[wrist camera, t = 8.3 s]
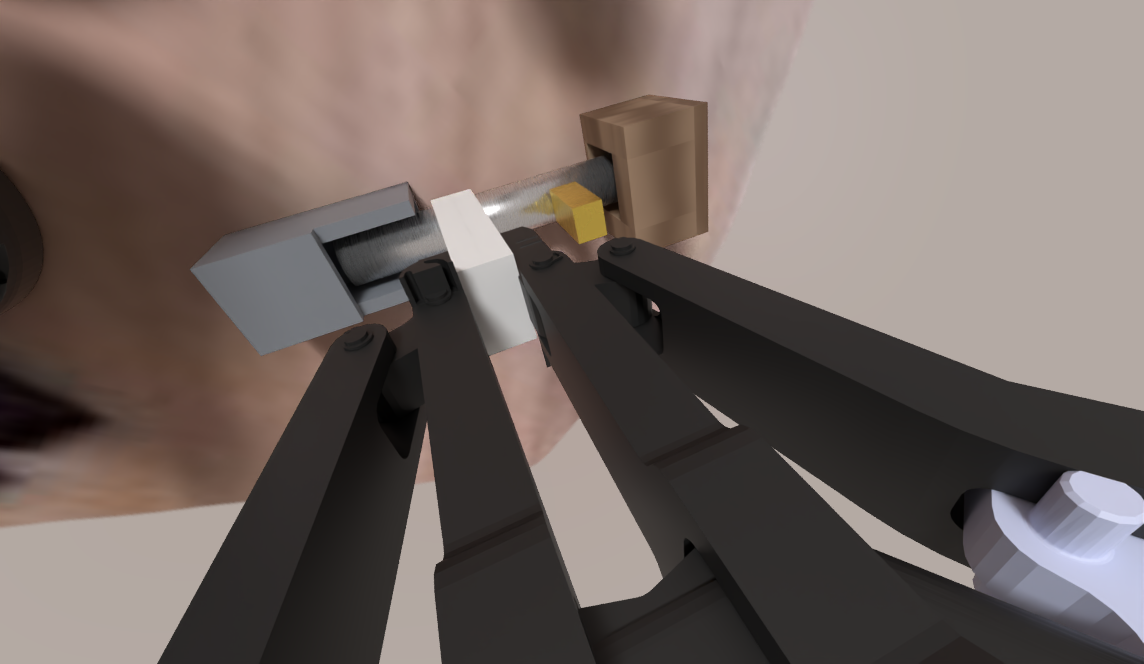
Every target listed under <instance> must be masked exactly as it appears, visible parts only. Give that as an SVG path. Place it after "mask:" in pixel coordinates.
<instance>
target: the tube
mask: <svg viewBox="0 0 1144 664" xmlns="http://www.w3.org/2000/svg"><path fill="white" fill-rule="evenodd" d="M474 195H475V197H476V198H477V200H478V202H479V203H480V205H481V206H482V208H483V209H484V211H485V212H486V214H487V215H488V217H489V218H490V220H491V221H492V223H493V224H494V226H495V227H496V229H497V230H498V232H499V233H503V232H506V231H509V230H512V229H515V228H519V227H522V226H524V227H527V228H530V229H535V228H538V227H541V226H544V225H547V224H550V223H553V222H556V221H557V222H558V223H559V224H560V225H561V226H562V227H563V228H564V229H565V230H566V231H567V232H568V233H569V234H570V235H571V236H572V237H573V238H574V240H575V241H576V242H577V243H578V244H581V243H584V242H587V241H590V240H593V239H596V238H599V237H602V236H605V235H607V230H606V224H605V217H604V211H603V206H605V205H608V204H612V203H615V202H618V197H617V189H616V182H615V174H614V167H613V159H612V153H608V154H606V155H603V156H599V157H596V158H593V159H589V160H586V161H583V162H580V163H576V164H573V165H570V166H566V167H563V168H560V169H557V170H553V171H550V172H547V173H543V174H540V175H537V176H533V177H530V178H527V179H524V180H520V181H517V182H514V183H510V184H507V185H504V186H501V187H497V188H494V189H491V190H487V191H484V192H481V193H478V194H474ZM333 246H334V250H335V253H336V256H337V258H338V261H339V263H340V265H341V267H342V269H343V271H344V273H345V274H346V276H347V277H348V279H349V280H350V281H351V282H352V283H353V284H354V285H355V286H359V285H362V284H365V283H368V282H371V281H375V280H378V279H381V278H384V277H387V276H390V275H393V274H396V273H399V272H402V271H403V270H404V269H405V268H407V267H408V266H410V265H412V264H413V263H416V262H418V260H421V259H424V258H428V257H431V256H434V255H437V254H440V253H443V252H447V251H448V250H447V247H446V244H445V241H444V238H443V235H442V232H441V229H440V226H439V223H438V220H437V217H436V214H435V212H434V209H433V207H431V208H428V209H425V210H422V211H418V212H415V215H414V216H411V217H407V218H404V219H401V220H398V221H394V222H391V223H388V224H384V225H381V226H378V227H375V228H371V229H368V230H365V231H362V232H358V233H355V234H352V235H348V236H345V237H342V238H339V239H335V240H333Z"/></svg>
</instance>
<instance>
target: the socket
mask: <svg viewBox="0 0 1144 664" xmlns="http://www.w3.org/2000/svg"><path fill="white" fill-rule="evenodd" d="M580 120H581V126H582V132H583V138H584V144H585V150H586V156H587V160H589V159H593V158H596V157H599V156H603V155H606V154H608V153H612V159H613V167H614V174H615V182H616V189H617V197H618V202H615V203H612V204H608V205H605V206H603V211H604V217H605V224H606V230H607V231H608V232H609V233H610V234H611V235H612V236H614V237H615V238H619V237H626V238H637V239H641V240H644V241H647V242H649V243H652V244H654V245H657V246H660V247H662V248H663V247H666V246H669V245H671V244H674V243H677V242H680V241H683V240H686V239H689V238H691V237H694V236H697V235H700V234H703V233H706V232H708V102H700V101H693V100H685V99H678V98H670V97H662V96H655V95H646V96H643V97H639V98H636V99H632V100H629V101H625V102H622V103H618V104H615V105H611V106H608V107H604V108H600V109H597V110H593V111H590V112H586V113H583V114H580Z"/></svg>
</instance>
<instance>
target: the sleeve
mask: <svg viewBox="0 0 1144 664" xmlns="http://www.w3.org/2000/svg"><path fill="white" fill-rule="evenodd" d="M418 211H419V208H418V206H417V204H416V201H415V199H414V196H413V194H412V192H411V189H410V187H409V185H408V182H405V183H402V184H398V185H395V186H391V187H388V188H385V189H381V190H378V191H374V192H371V193H367V194H364V195H361V196H357V197H354V198H350V199H347V200H343V201H340V202H336V203H333V204H330V205H326V206H323V207H319V208H316V209H312V210H309V211H306V212H302V213H299V214H295V215H292V216H288V217H285V218H281V219H278V220H275V221H271V222H268V223H264V224H261V225H257V226H254V227H251V228H247V229H244V230H240V231H237V232H233V233H230V234H226V235H224V236H223V237H222V238H221V239H220V240H219V241H218V242H217V243H216V244H215V245H214V246H213V247H212V248H211V249H210V250H209V251H208V252H207V253H206V254H205V255H204V256H203V257H202V258H201V259H200V260H199V261H198V262H197V263H196V264H195V265H194V266H193V267H192V268H191V269H190V270H191V272H192V273H193V274H194V275H195V276H196V278H197V279H198V280H199V281H200V282H201V284H202V285H203V286H204V287H205V289H206V290H207V291H208V292H209V293H210V295H211V296H212V297H213V298H214V300H215V301H216V302H217V303H218V304H219V306H220V307H221V308H222V309H223V310H224V312H225V313H226V314H227V315H228V317H229V318H230V319H231V320H232V321H233V323H234V324H235V325H236V326H237V328H238V329H239V330H240V331H241V332H242V334H243V335H244V336H245V337H246V338H247V340H248V341H249V342H250V343H251V345H252V346H253V347H254V348H255V349H256V351H257V352H258V353H259V354H260V356H262V355H265V354H268V353H271V352H274V351H277V350H280V349H283V348H286V347H289V346H292V345H295V344H298V343H301V342H304V341H307V340H310V339H313V338H316V337H319V336H321V335H324V334H327V333H330V332H333V331H336V330H339V329H342V328H345V327H348V326H351V325H354V324H357V323H360V322H363V320H364V316H365V315H368V314H371V313H374V312H377V311H380V310H383V309H386V308H389V307H392V306H395V305H398V304H401V303H403V302H406V301H409V299H408V297H407V295H406V293H405V291H404V289H403V287H402V285H401V282H400V280H399V276H400V273H401V272H399V273H396V274H393V275H390V276H387V277H384V278H381V279H378V280H375V281H371V282H368V283H365V284H362V285H359V286H355V285H354V284H353V283H352V282H351V281H350V280H349V279H348V277H347V276H346V274H345V273H344V271H343V269H342V267H341V265H340V263H339V261H338V258H337V256H336V253H335V250H334V246H333V240H335V239H339V238H342V237H345V236H348V235H352V234H355V233H358V232H362V231H365V230H368V229H371V228H375V227H378V226H381V225H384V224H388V223H391V222H394V221H398V220H401V219H404V218H407V217H411V216H414V215H415V212H418Z"/></svg>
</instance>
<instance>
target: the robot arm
mask: <svg viewBox="0 0 1144 664" xmlns="http://www.w3.org/2000/svg"><path fill="white" fill-rule="evenodd" d="M431 203H432V206H433V209H434V212H435V214H436V217H437V220H438V223H439V226H440V229H441V232H442V235H443V238H444V241H445V244H446V247H447V250H448V251H447V252H443V253H440V254H437V255H434V256H431V257H428V258H424V259H421V260H418V262H416V263H413V264H412V265H410V266H408V267H407V268H405V269H404V270H403V271H402V272H401V273H400V276H399V280H400V282H401V285H402V287H403V289H404V291H405V293H406V295H407V297H408V299H409V301H410V303H411V305H412V309H413V317H412V318H411V319H410V320H409V321H408V322H406V323H405V324H403V325H402V326H400V327H399V328H397V329H395V330H393V331H391V332H389V333H388V331H387V329H386V328H385V327H384V326H383V325H380V324H367V325H363V326H360V327H355V328H352V329H351V330H348V331H347V332H345V333H344V334H343V335H342V336H340V337H339V338H338V339H337V340H335V342H334V343H333V344H332V345H331V347H330V348H329V350H328V352H327V354H326V356H325V357H324V359H323V361H322V363H321V365H320V367H319V368H318V370H317V372H316V374H315V376H314V378H313V379H312V381H311V383H310V385H309V387H308V389H307V390H306V392H305V394H304V396H303V398H302V400H301V401H300V403H299V405H298V407H297V409H296V411H295V412H294V414H293V416H292V418H291V420H290V422H289V423H288V425H287V427H286V429H285V431H284V433H283V434H282V436H281V438H280V440H279V442H278V444H277V445H276V447H275V449H274V451H273V453H272V455H271V456H270V458H269V460H268V462H267V464H266V466H265V467H264V469H263V471H262V473H261V475H260V477H259V478H258V480H257V482H256V484H255V486H254V488H253V489H252V491H251V493H250V495H249V497H248V499H247V500H246V502H245V504H244V506H243V508H242V509H241V511H240V513H239V515H238V517H237V519H236V521H235V522H234V524H233V526H232V528H231V530H230V531H229V533H228V535H227V537H226V539H225V541H224V542H223V544H222V546H221V548H220V550H219V552H218V554H217V555H216V557H215V559H214V561H213V563H212V564H211V566H210V568H209V570H208V572H207V574H206V575H205V577H204V579H203V581H202V583H201V585H200V586H199V588H198V590H197V592H196V594H195V596H194V597H193V599H192V601H191V603H190V605H189V607H188V609H187V610H186V612H185V614H184V616H183V618H182V619H181V621H180V623H179V625H178V627H177V629H176V630H175V632H174V634H173V636H172V638H171V640H170V641H169V643H168V645H167V647H166V649H165V650H164V652H163V654H162V656H161V658H160V660H159V661H158V663H157V664H379V660H380V655H381V650H382V645H383V640H384V634H385V630H386V624H387V620H388V615H389V610H390V605H391V600H392V594H393V589H394V585H395V580H396V574H397V569H398V564H399V559H400V554H401V549H402V544H403V539H404V534H405V529H406V524H407V519H408V514H409V509H410V504H411V498H412V494H413V489H414V484H415V479H416V474H417V468H418V463H419V458H420V453H421V448H422V443H423V438H424V433H425V428H426V423H428V431H429V439H430V446H431V454H432V461H433V469H434V477H435V484H436V492H437V500H438V507H439V515H440V523H441V530H442V538H443V546H444V558H443V561H441V562H439V563H438V564H436V567H435V572H434V589H435V590H434V592H435V602H436V611H437V621H438V631H439V641H440V650H441V660H442V664H1144V411H1141V410H1136V409H1132V408H1127V407H1123V406H1118V405H1114V404H1109V403H1105V402H1100V401H1096V400H1091V399H1087V398H1082V397H1077V396H1073V395H1068V394H1064V393H1059V392H1055V391H1050V390H1046V389H1041V388H1037V387H1032V386H1027V385H1022V384H1018V383H1014V382H1009V381H1006V380H1003V379H1001V378H998V377H996V376H993V375H991V374H988V373H985V372H983V371H980V370H978V369H975V368H972V367H970V366H967V365H965V364H962V363H960V362H957V361H954V360H951V359H949V358H946V357H944V356H941V355H939V354H936V353H934V352H931V351H928V350H926V349H923V348H921V347H918V346H915V345H913V344H910V343H908V342H905V341H903V340H900V339H897V338H895V337H892V336H890V335H887V334H885V333H882V332H879V331H877V330H874V329H871V328H869V327H866V326H864V325H861V324H859V323H856V322H854V321H851V320H848V319H846V318H843V317H841V316H838V315H835V314H833V313H830V312H828V311H825V310H822V309H820V308H817V307H815V306H812V305H810V304H807V303H804V302H802V301H799V300H796V299H794V298H791V297H789V296H786V295H784V294H781V293H778V292H776V291H773V290H771V289H768V288H766V287H763V286H760V285H758V284H755V283H752V282H750V281H747V280H745V279H742V278H740V277H737V276H735V275H732V274H729V273H727V272H724V271H722V270H719V269H716V268H714V267H711V266H709V265H706V264H704V263H701V262H698V261H696V260H693V259H691V258H688V257H685V256H683V255H680V254H678V253H675V252H673V251H670V250H667V249H665V248H662V247H660V246H657V245H654V244H652V243H649V242H647V241H644V240H641V239H637V238H626V237H619V238H615V239H612V240H611V241H608V242H606V243H604V244H603V245H601V246H600V247H599V249H598V250H597V254H598V260H594V261H588V262H580V263H573V261H572V260H571V259H570V258H569V257H568V256H567V255H566V254H564V253H563V252H559V251H551V250H550V249H549V247H548V246H547V245H546V244H545V243H544V242H543V241H542V239H541V238H540V237H539V236H538V235H537V234H536V232H535V231H534V230H533V229H530V228H527V227H524V226H522V227H519V228H515V229H512V230H509V231H506V232H503V233H499V232H498V230H497V229H496V227H495V226H494V224H493V223H492V221H491V220H490V218H489V217H488V215H487V214H486V212H485V211H484V209H483V208H482V206H481V205H480V203H479V202H478V200H477V198H476V197H475V195H474V194H473V192H472V191H471V189H468V190H465V191H461V192H458V193H454V194H451V195H447V196H444V197H441V198H437V199H434V200H431ZM42 262H43V245H42V240H41V235H40V232H39V228H38V225H37V223H36V221H35V218H34V216H33V214H32V212H31V210H30V208H29V207H28V205H27V203H26V202H25V200H24V198H23V197H22V196H21V194H20V193H19V191H18V190H17V189H16V187H15V186H14V185H13V184H12V183H11V181H10V180H9V179H8V178H7V177H6V176H5V174H4V173H3V172H2V171H1V170H0V315H1V314H2V313H4V312H6V311H7V310H9V309H10V308H12V307H14V306H15V305H16V304H18V303H19V302H20V301H21V300H22V299H23V298H24V297H26V296H27V294H28V293H29V292H30V291H31V290H32V288H33V287H34V285H35V283H36V282H37V279H38V277H39V275H40V272H41V268H42ZM652 301H653V302H654V303H655V304H656V305H657V306H658V308H659V310H660V312H657V311H655V310H654V309H652ZM534 327H535V329H536V331H537V333H538V336H539V340H540V343H541V347H542V351H543V354H544V358H545V361H546V365H547V367H550V366H552V367H553V369H554V371H555V373H556V375H557V377H558V378H559V380H560V382H561V384H562V386H563V388H564V389H565V391H566V393H567V395H568V397H569V399H570V401H571V402H572V404H573V406H574V408H575V410H576V412H577V413H578V415H579V417H580V419H581V421H582V423H583V425H584V426H585V428H586V430H587V432H588V434H589V435H590V437H591V439H592V441H593V443H594V445H595V447H596V448H597V450H598V452H599V454H600V456H601V458H602V460H603V461H604V463H605V465H606V467H607V468H608V470H609V472H610V474H611V476H612V478H613V480H614V481H615V483H616V485H617V487H618V489H619V491H620V493H621V494H622V496H623V498H624V500H625V502H626V503H627V506H628V507H629V509H630V511H631V513H632V515H633V516H634V518H635V520H636V522H637V524H638V526H639V528H640V529H641V531H642V533H643V535H644V537H645V539H646V541H647V542H648V544H649V546H650V548H651V550H652V552H653V554H654V556H655V558H656V561H657V563H658V565H659V568H660V571H661V574H662V576H663V579H662V580H661V581H660V582H659V583H658V584H657V585H656V586H655V587H654V588H653V589H652V590H651V591H650V592H648V593H647V594H645V595H643V596H641V597H638V598H632V599H627V600H622V601H617V602H611V603H606V604H601V605H596V606H591V607H585V608H581V607H580V604H579V602H578V599H577V596H576V594H575V591H574V588H573V585H572V583H571V580H570V577H569V574H568V571H567V569H566V566H565V564H564V560H563V558H562V555H561V552H560V550H559V547H558V544H557V541H556V539H555V536H554V533H553V531H552V528H551V525H550V522H549V519H548V517H547V514H546V511H545V508H544V506H543V503H542V500H541V497H540V495H539V492H538V489H537V486H536V484H535V481H534V478H533V476H532V473H531V470H530V467H529V464H528V462H527V459H526V456H525V453H524V451H523V448H522V445H521V442H520V440H519V437H518V434H517V431H516V429H515V426H514V423H513V420H512V418H511V415H510V412H509V409H508V407H507V404H506V401H505V398H504V396H503V393H502V390H501V387H500V385H499V382H498V379H497V376H496V374H495V371H494V368H493V365H492V363H491V360H490V358H489V356H490V355H493V354H496V353H498V352H501V351H504V350H506V349H509V348H512V347H515V346H517V345H520V344H523V343H525V342H528V341H531V340H533V339H536V338H537V336H536V332H535V329H534ZM693 393H694V394H695V395H697V396H698V397H699V398H701V399H702V400H704V401H705V402H707V403H708V404H710V405H711V406H713V407H714V408H716V409H717V410H718V411H720V412H721V413H723V414H724V415H726V416H727V417H729V418H730V419H732V420H733V421H735V422H736V423H738V424H739V425H738V426H736V427H733V428H727V427H725V426H724V425H723V424H721V423H720V422H719V421H718V420H717V419H716V418H715V416H713V414H712V413H711V412H710V411H709V410H708V409H707V408H706V407H705V406H704V405H703V403H702V402H701V401H700V400H699V399H698V398H697V397H696V396H695V395H694V394H693ZM772 447H773V448H774V449H776V450H777V451H779V452H780V453H782V454H783V455H784V456H786V457H787V458H789V459H790V460H792V461H793V462H795V463H796V464H798V465H799V466H801V467H802V468H803V469H805V470H806V471H808V472H809V473H811V474H812V475H814V476H815V477H817V478H818V479H820V480H821V481H822V482H824V483H825V484H827V485H828V486H830V487H831V488H833V489H834V490H836V491H837V492H839V493H840V494H842V495H843V496H845V497H846V498H847V499H849V500H850V501H852V502H853V503H855V504H856V505H858V506H859V507H861V508H862V509H864V510H865V511H866V512H868V513H870V514H871V515H873V516H874V517H876V518H877V519H879V520H881V521H882V522H884V523H885V524H887V525H889V526H890V527H892V528H893V529H895V530H897V531H898V532H900V533H901V534H903V535H905V536H907V537H909V538H911V539H913V540H914V541H916V542H918V543H920V544H922V545H924V546H926V547H928V548H929V549H931V550H933V551H935V552H937V553H939V554H941V555H943V556H945V557H947V558H950V559H952V560H954V561H956V562H958V563H961V564H963V565H965V566H967V567H969V568H971V569H972V571H973V572H974V573H975V576H974V578H973V584H974V588H975V590H974V589H972V588H969V587H966V586H964V585H962V584H959V583H957V582H954V581H952V580H949V579H947V578H944V577H942V576H939V575H937V574H934V573H932V572H929V571H927V570H924V569H922V568H919V567H917V566H914V565H912V564H910V563H907V562H904V561H902V560H900V559H897V558H895V557H892V556H890V555H887V554H885V553H882V552H880V551H877V550H874V549H872V548H871V547H870V546H869V545H868V544H867V543H866V542H865V541H864V540H863V539H862V538H861V537H860V536H859V535H858V534H857V533H856V532H855V531H854V530H853V529H852V528H851V527H850V526H849V525H848V524H847V523H846V522H845V521H844V520H843V519H842V518H841V517H840V516H839V515H838V514H837V513H836V512H835V511H834V510H833V509H832V508H831V507H830V505H829V504H828V503H827V502H826V501H825V500H824V499H823V498H822V497H821V496H820V495H819V494H818V493H817V492H816V491H815V490H814V489H813V488H811V486H810V485H809V484H808V483H807V482H806V481H805V480H804V479H803V478H802V477H801V476H800V475H799V474H798V473H797V472H796V471H795V470H794V469H793V468H792V467H791V466H790V465H789V464H788V463H787V462H786V461H785V460H784V459H783V458H782V457H781V456H780V455H779V454H778V453H777V452H776V451H775V450H774V449H773V448H772Z"/></svg>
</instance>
